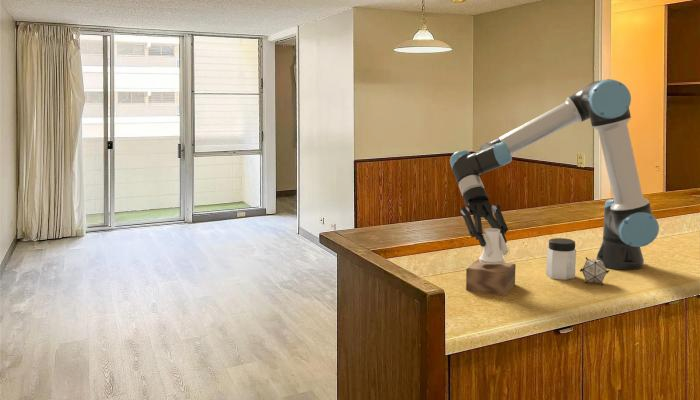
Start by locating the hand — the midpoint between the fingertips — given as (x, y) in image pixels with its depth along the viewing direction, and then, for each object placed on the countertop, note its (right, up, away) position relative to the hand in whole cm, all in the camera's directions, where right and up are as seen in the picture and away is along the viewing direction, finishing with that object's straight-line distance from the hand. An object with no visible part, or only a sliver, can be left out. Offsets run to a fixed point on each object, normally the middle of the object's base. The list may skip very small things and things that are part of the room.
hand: (497, 253), depth 181 cm
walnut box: (-1, -11, +6) cm, 13 cm away
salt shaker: (-1, -3, +4) cm, 5 cm away
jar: (+24, -9, +16) cm, 30 cm away
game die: (+32, -10, +8) cm, 35 cm away
